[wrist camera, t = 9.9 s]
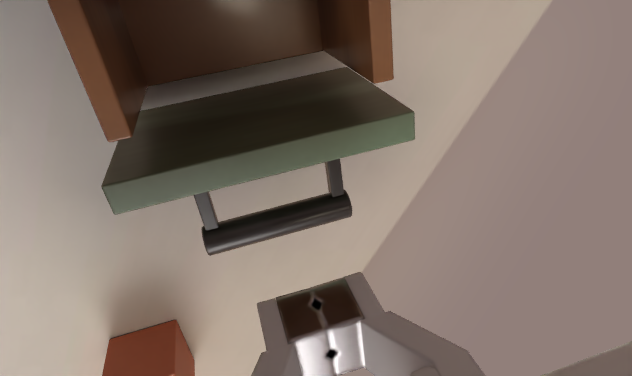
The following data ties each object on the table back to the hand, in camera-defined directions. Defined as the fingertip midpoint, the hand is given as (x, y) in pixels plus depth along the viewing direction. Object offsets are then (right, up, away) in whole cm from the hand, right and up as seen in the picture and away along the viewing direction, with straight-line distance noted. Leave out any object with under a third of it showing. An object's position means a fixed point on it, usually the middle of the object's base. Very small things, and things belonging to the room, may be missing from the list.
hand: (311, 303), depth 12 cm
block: (-11, -8, +17) cm, 22 cm away
